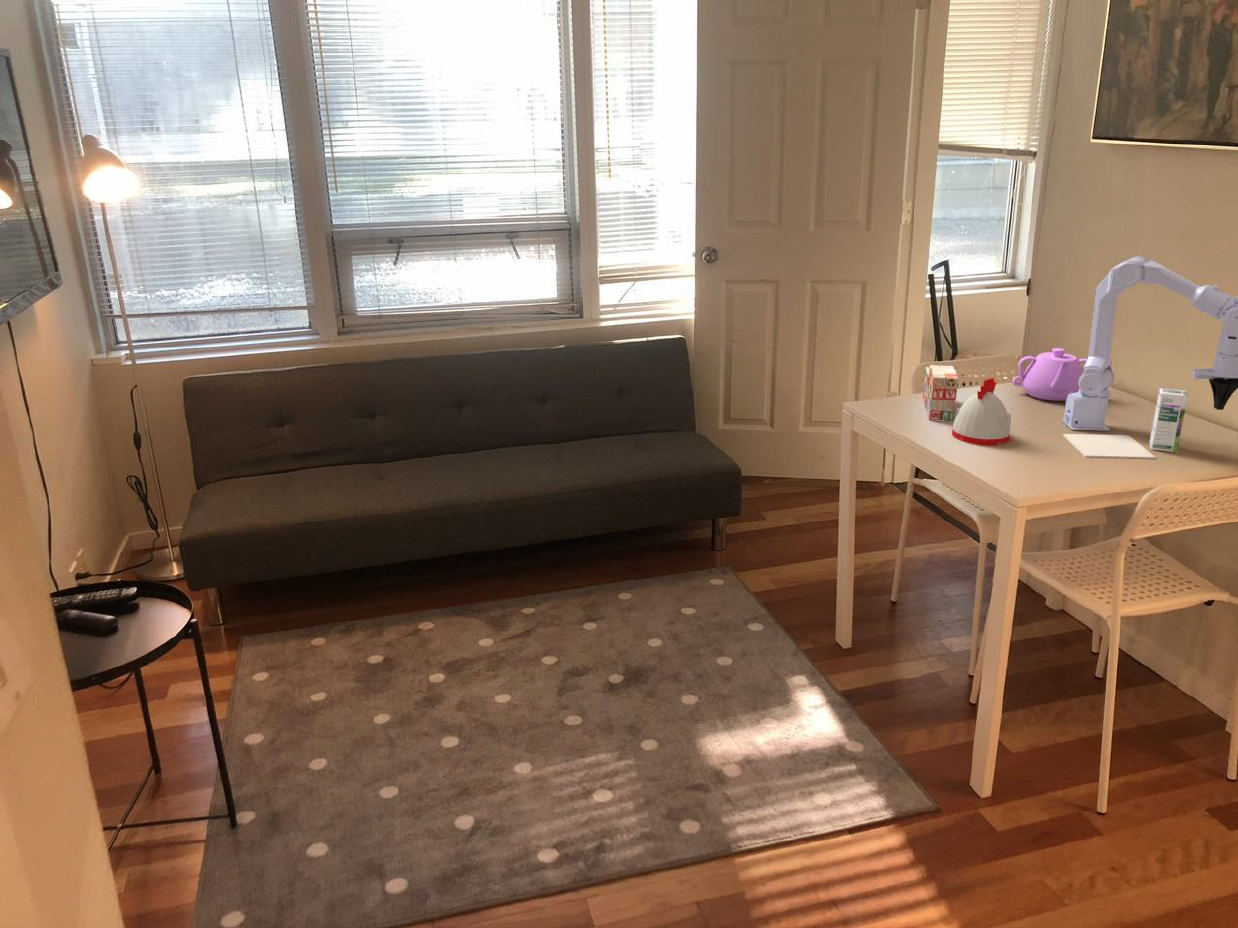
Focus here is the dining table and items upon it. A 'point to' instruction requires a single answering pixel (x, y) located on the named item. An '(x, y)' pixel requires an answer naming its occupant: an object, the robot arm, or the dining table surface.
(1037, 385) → the teapot
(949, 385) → the stack of blocks
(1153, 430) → the syrup box
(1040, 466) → the dining table surface
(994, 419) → the white chicken dome
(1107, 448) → the mat
